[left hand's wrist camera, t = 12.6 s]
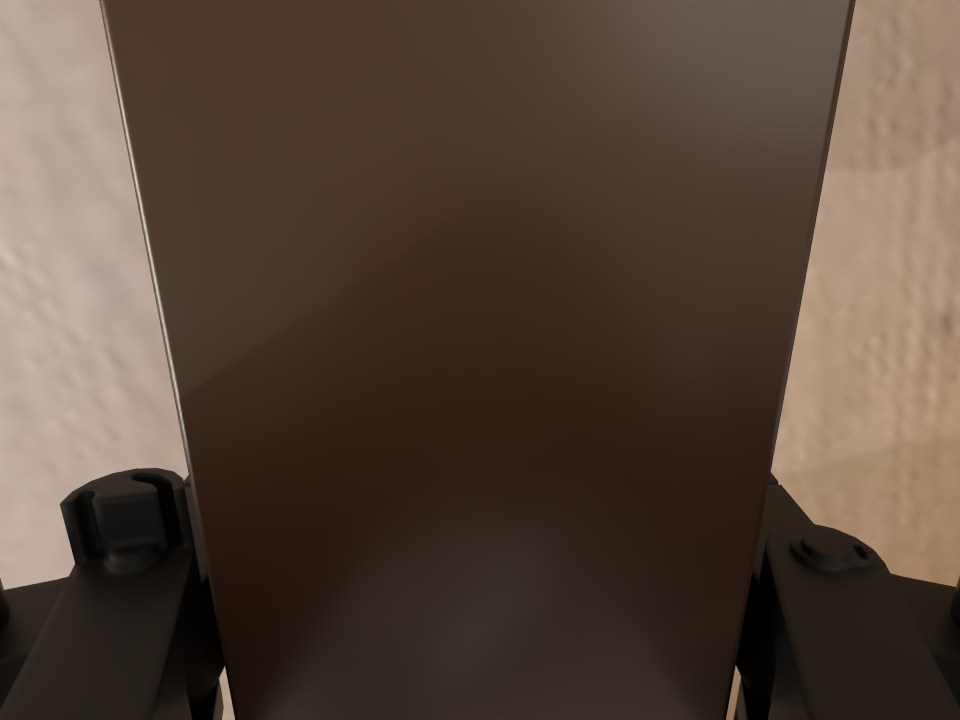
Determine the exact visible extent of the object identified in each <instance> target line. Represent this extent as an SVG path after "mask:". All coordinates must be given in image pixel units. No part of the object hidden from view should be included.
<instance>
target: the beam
mask: <svg viewBox="0 0 960 720" xmlns="http://www.w3.org/2000/svg"><path fill="white" fill-rule="evenodd" d="M99 1H100V7H101V12H102V17H103V23H104V28H105V33H106V38H107V44H108V49H109V54H110V60H111V65H112V70H113V76H114V81H115V86H116V91H117V97H118V102H119V107H120V113H121V118H122V123H123V128H124V134H125V139H126V144H127V150H128V155H129V160H130V165H131V171H132V176H133V181H134V187H135V192H136V197H137V202H138V208H139V213H140V218H141V224H142V229H143V234H144V239H145V245H146V250H147V255H148V261H149V266H150V271H151V276H152V282H153V287H154V292H155V298H156V303H157V308H158V314H159V319H160V324H161V329H162V335H163V340H164V345H165V351H166V356H167V361H168V366H169V372H170V377H171V382H172V388H173V393H174V398H175V403H176V409H177V414H178V419H179V425H180V430H181V435H182V440H183V446H184V451H185V456H186V462H187V467H188V472H189V477H190V483H191V488H192V493H193V499H194V504H195V509H196V514H197V520H198V525H199V530H200V536H201V541H202V546H203V552H204V557H205V562H206V567H207V573H208V578H209V583H210V589H211V594H212V599H213V604H214V610H215V615H216V620H217V626H218V631H219V636H220V641H221V647H222V652H223V657H224V663H225V668H226V673H227V678H228V684H229V689H230V694H231V700H232V705H233V710H234V715H235V720H726V715H727V710H728V704H729V699H730V693H731V688H732V682H733V677H734V671H735V666H736V660H737V655H738V649H739V643H740V638H741V632H742V627H743V621H744V616H745V610H746V605H747V599H748V594H749V588H750V583H751V577H752V571H753V566H754V560H755V555H756V549H757V544H758V538H759V533H760V527H761V522H762V516H763V511H764V505H765V499H766V494H767V488H768V483H769V477H770V472H771V466H772V461H773V455H774V450H775V444H776V439H777V433H778V427H779V422H780V416H781V411H782V405H783V400H784V394H785V389H786V383H787V378H788V372H789V367H790V361H791V355H792V350H793V344H794V339H795V333H796V328H797V322H798V317H799V311H800V306H801V300H802V295H803V289H804V283H805V278H806V272H807V267H808V261H809V256H810V250H811V245H812V239H813V234H814V228H815V223H816V217H817V211H818V206H819V200H820V195H821V189H822V184H823V178H824V173H825V167H826V162H827V156H828V151H829V145H830V139H831V134H832V128H833V123H834V117H835V112H836V106H837V101H838V95H839V90H840V84H841V79H842V73H843V67H844V62H845V56H846V51H847V45H848V40H849V34H850V29H851V23H852V18H853V12H854V7H855V1H856V0H99Z"/></svg>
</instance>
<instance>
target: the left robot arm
mask: <svg viewBox="0 0 960 720" xmlns="http://www.w3.org/2000/svg"><path fill="white" fill-rule="evenodd" d="M60 506H61V510H62V514H63V518H64V522H65V526H66V530H67V533H68V537H69V541H70V545H71V549H72V553H73V557H74V560H75V566H74V567H73V569H72V571H71V573H70V575H69V577H65V578H61V579H58V580H53V581H48V582H43V583H38V584H32V585H27V586H22V587H17V588H12V589H7V590H4V589H3V585H2V582H1V579H0V720H222V715H223V708H224V707H223V699H222V692H221V686H220V681H219V677H220V675H221V673H222V671H223V669H224V666H225V663H224V657H223V652H222V647H221V641H220V636H219V631H218V626H217V620H216V615H215V610H214V604H213V599H212V594H211V589H210V583H209V578H208V573H207V567H206V562H205V557H204V552H203V546H202V541H201V536H200V530H199V525H198V520H197V514H196V509H195V504H194V499H193V493H192V488H191V483H190V477H189V476H188V477H187V478H186V479H185V480H184V482H183V478H182V477H180V476H179V475H177V474H176V473H175V472H173V471H169V470H164V469H159V468H145V469H132V470H127V471H122V472H117V473H113V474H110V475H107V476H104V477H101V478H99V479H96V480H93V481H90V482H89V483H87V484H85V485H83V486H82V487H80V488H78V489H76V490H75V491H73V492H71V493H70V494H69V495H68V496H67V497H66V498H65V499H64V500H63V501H62V502H61V503H60ZM736 666H737V668H738V670H739V673H740V675H741V681H740V686H739V692H738V697H737V703H736V708H735V714H734V720H960V577H959V580H958V584H957V587H953V586H948V585H943V584H938V583H932V582H927V581H922V580H917V579H912V578H907V577H902V576H898V575H894V574H890V572H889V570H888V568H887V566H886V564H885V563H884V561H883V560H882V559H881V558H880V557H879V555H878V554H877V553H876V552H875V551H874V550H873V549H872V548H870V547H869V546H867V545H866V544H865V543H863V542H862V541H860V540H859V539H857V538H855V537H853V536H851V535H848V534H846V533H843V532H841V531H839V530H836V529H834V528H829V527H825V526H820V525H816V524H813V522H812V521H811V520H810V519H809V518H808V516H807V515H806V514H805V513H804V512H803V510H802V509H801V508H800V507H799V506H798V504H797V503H796V502H795V501H794V500H793V498H792V497H791V496H790V495H789V494H788V492H787V491H786V490H785V489H784V488H783V486H782V485H778V481H777V479H776V478H775V477H774V476H773V475H772V473H771V472H770V477H769V483H768V488H767V494H766V499H765V505H764V511H763V516H762V522H761V527H760V533H759V538H758V544H757V549H756V555H755V560H754V566H753V571H752V577H751V583H750V588H749V594H748V599H747V605H746V610H745V616H744V621H743V627H742V632H741V638H740V643H739V649H738V655H737V660H736Z"/></svg>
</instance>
